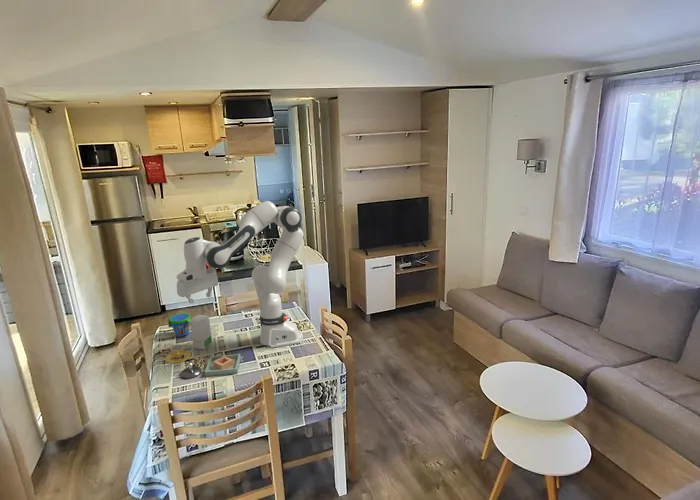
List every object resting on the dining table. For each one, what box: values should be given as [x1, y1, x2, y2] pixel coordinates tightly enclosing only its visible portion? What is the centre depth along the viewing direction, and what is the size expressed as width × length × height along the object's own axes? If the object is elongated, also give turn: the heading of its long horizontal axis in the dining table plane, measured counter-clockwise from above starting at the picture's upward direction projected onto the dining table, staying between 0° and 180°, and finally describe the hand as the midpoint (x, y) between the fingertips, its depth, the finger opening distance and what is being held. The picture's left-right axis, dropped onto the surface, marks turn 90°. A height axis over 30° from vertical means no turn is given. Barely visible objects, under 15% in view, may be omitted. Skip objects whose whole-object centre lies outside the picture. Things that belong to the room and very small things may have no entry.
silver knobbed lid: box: [179, 361, 202, 380], centre depth 194 cm, size 9×9×5 cm
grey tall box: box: [190, 314, 213, 350], centre depth 218 cm, size 8×7×16 cm
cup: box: [164, 343, 192, 364], centre depth 209 cm, size 12×12×5 cm
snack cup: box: [167, 312, 192, 338], centre depth 233 cm, size 16×11×10 cm
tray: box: [204, 353, 242, 378], centre depth 199 cm, size 14×14×2 cm
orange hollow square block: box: [213, 356, 234, 370], centre depth 199 cm, size 6×6×3 cm
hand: (200, 299), depth 203 cm, fingers open, 8 cm apart
